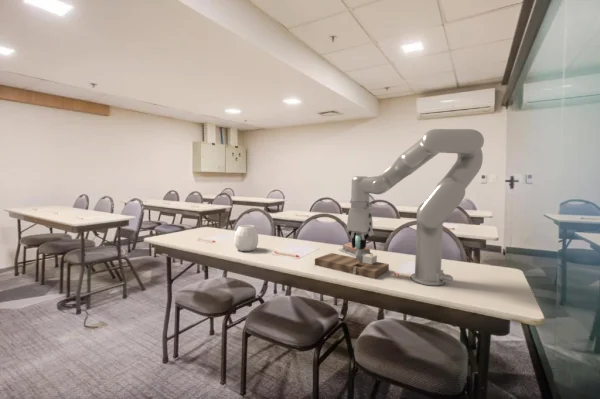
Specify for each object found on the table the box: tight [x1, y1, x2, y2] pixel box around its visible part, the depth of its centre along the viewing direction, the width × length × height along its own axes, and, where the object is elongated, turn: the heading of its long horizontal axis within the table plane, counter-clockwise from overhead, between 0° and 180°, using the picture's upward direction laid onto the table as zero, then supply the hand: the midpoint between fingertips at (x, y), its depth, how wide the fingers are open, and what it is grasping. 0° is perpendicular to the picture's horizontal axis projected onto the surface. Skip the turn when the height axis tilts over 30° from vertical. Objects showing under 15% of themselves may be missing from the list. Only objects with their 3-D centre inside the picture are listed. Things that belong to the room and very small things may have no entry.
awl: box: [355, 234, 362, 259], centre depth 130 cm, size 3×3×10 cm
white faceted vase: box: [234, 224, 259, 252], centre depth 170 cm, size 13×13×14 cm
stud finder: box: [359, 253, 378, 264], centre depth 135 cm, size 6×5×3 cm
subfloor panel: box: [314, 252, 390, 280], centre depth 137 cm, size 30×15×3 cm, turn 51°
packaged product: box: [338, 241, 374, 258], centre depth 164 cm, size 18×5×10 cm
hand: (358, 247), depth 130 cm, fingers closed on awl, 3 cm apart
